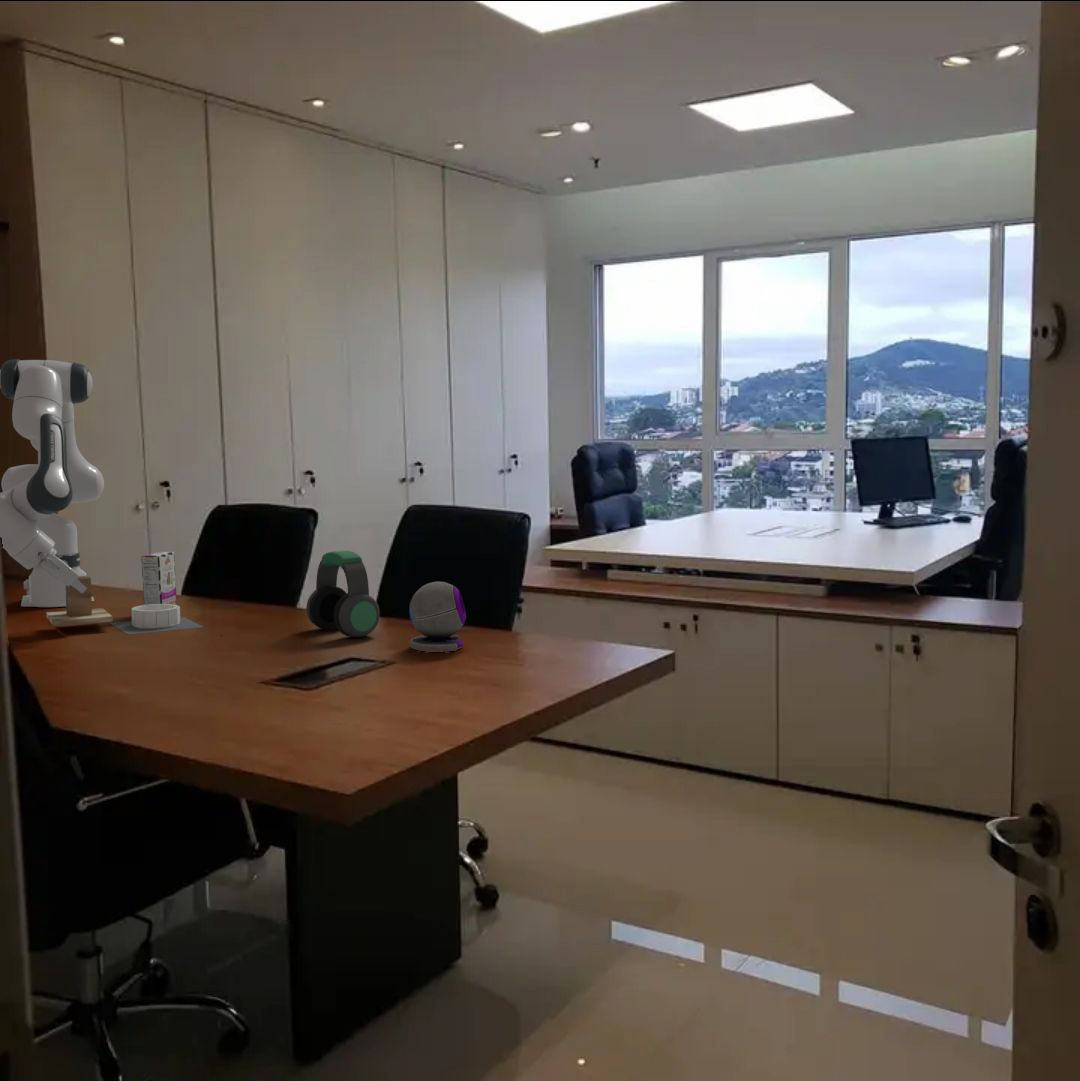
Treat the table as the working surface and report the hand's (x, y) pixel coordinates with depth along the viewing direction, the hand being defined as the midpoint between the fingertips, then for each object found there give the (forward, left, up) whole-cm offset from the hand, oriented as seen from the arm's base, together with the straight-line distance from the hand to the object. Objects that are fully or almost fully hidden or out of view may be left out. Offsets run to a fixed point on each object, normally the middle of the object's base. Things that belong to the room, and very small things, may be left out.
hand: (81, 588), depth 259 cm
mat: (+4, +16, -10) cm, 20 cm away
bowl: (+4, +16, -10) cm, 19 cm away
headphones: (+37, +51, -10) cm, 64 cm away
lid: (0, -1, -7) cm, 7 cm away
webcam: (+64, +62, -10) cm, 90 cm away
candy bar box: (-10, +21, -10) cm, 26 cm away
